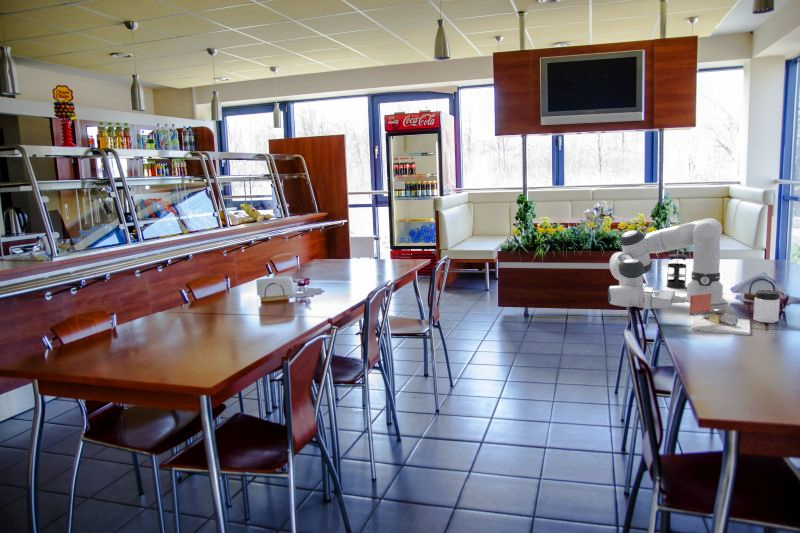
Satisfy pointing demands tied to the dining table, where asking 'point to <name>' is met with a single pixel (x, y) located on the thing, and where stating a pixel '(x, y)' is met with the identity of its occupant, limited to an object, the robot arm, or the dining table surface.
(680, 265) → the french press
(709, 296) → the lever
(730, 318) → the valve body
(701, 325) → the mounting plate
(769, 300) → the jar
